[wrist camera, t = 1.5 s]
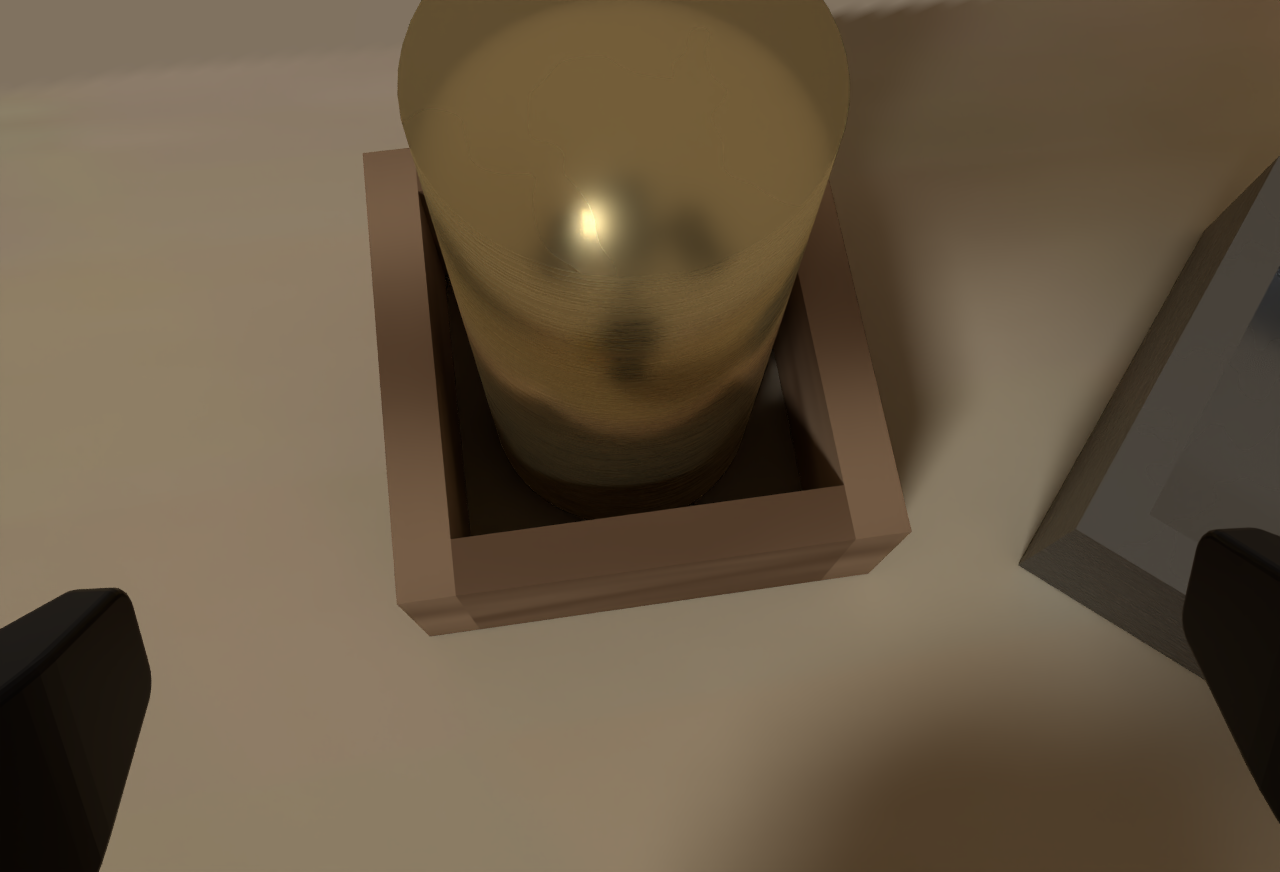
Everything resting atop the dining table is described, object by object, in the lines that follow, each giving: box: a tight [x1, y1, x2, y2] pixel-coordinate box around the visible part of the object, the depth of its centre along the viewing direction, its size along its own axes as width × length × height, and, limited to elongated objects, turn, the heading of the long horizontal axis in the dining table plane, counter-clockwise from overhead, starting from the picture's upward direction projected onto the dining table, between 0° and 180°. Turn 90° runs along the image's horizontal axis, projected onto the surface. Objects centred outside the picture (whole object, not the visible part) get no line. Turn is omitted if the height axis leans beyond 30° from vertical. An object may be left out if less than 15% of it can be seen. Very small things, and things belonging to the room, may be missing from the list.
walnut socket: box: [363, 148, 912, 636], centre depth 22 cm, size 9×9×4 cm
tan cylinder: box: [398, 0, 850, 520], centre depth 19 cm, size 6×6×11 cm
